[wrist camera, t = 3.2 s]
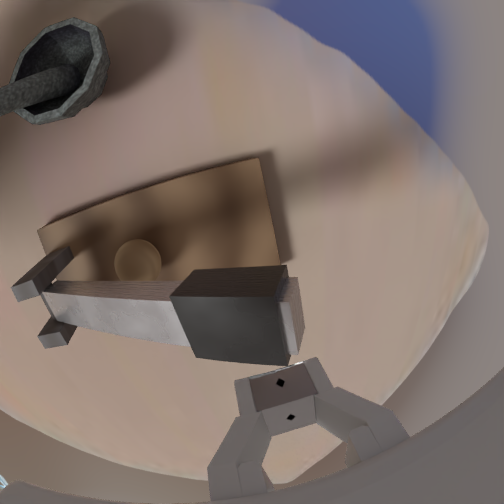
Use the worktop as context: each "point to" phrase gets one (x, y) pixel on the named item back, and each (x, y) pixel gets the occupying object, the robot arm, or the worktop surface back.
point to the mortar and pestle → (57, 73)
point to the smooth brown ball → (137, 261)
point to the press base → (159, 233)
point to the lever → (195, 312)
